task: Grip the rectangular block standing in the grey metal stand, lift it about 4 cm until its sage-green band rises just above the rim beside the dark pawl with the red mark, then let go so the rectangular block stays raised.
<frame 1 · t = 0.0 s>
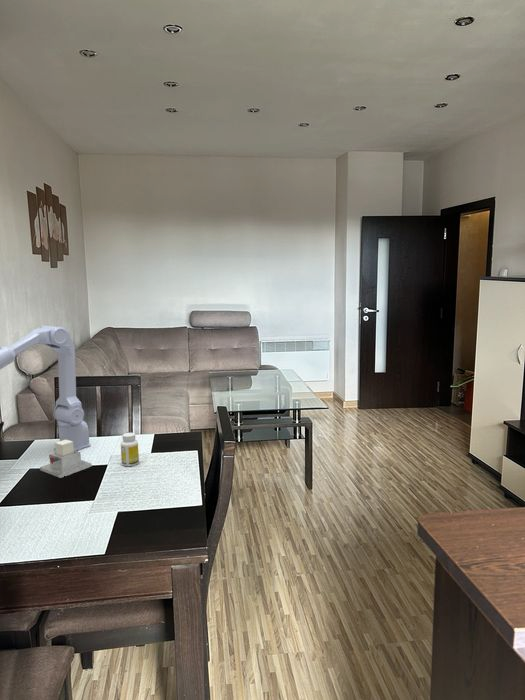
stand: (66, 468, 156), on the table
supplement bottle: (130, 464, 159), on the table
rectangular block: (65, 454, 155), point 5 cm above the table, slide at 0.0 cm
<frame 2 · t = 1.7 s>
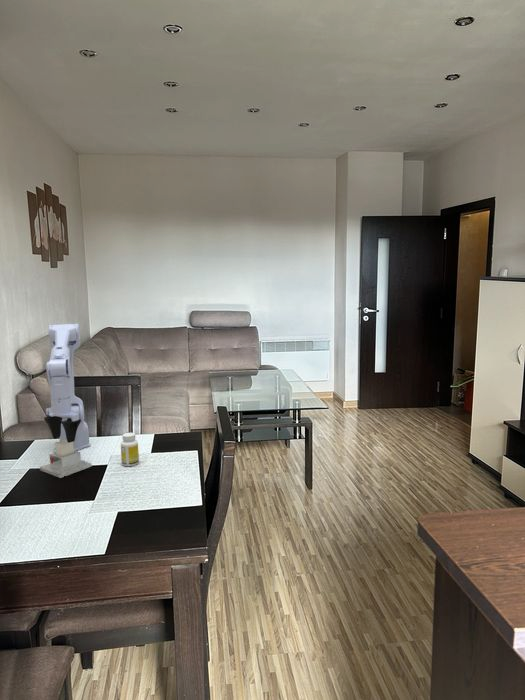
hand: (63, 439, 154), 9 cm above the table, tool pointing down, fingers open, 7 cm apart
nothing on the table moved.
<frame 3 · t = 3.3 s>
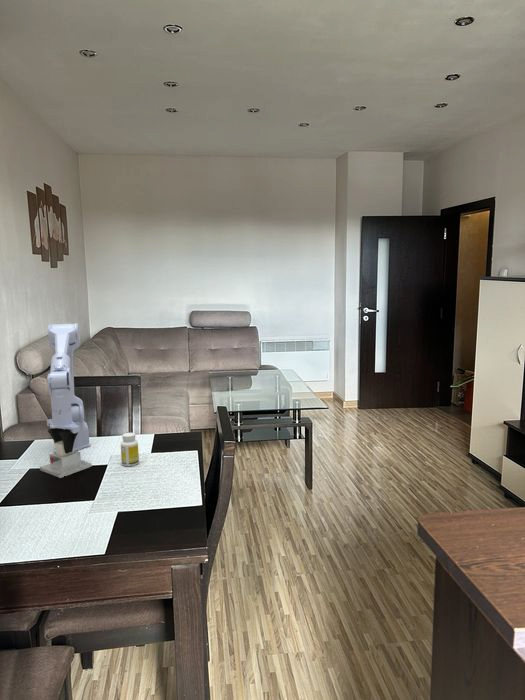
hand: (64, 451, 155), 6 cm above the table, tool pointing down, fingers closed on rectangular block, 4 cm apart
rectangular block: (65, 454, 155), point 5 cm above the table, slide at 0.0 cm, touching gripper
everything else where it was.
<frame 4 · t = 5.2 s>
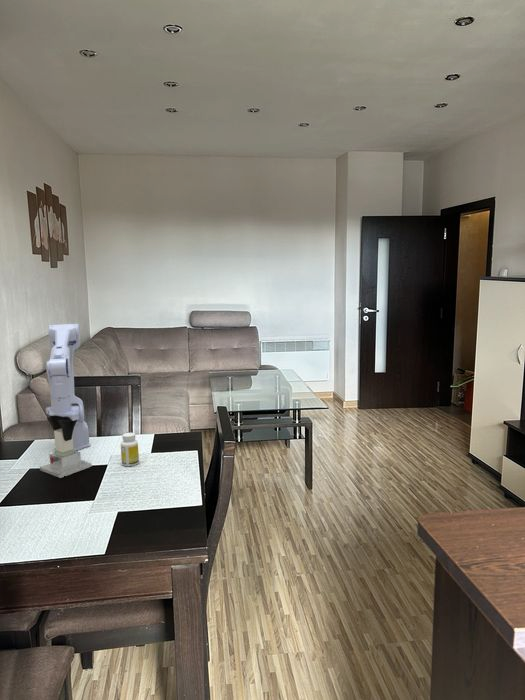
hand: (63, 438, 155), 10 cm above the table, tool pointing down, fingers closed on rectangular block, 4 cm apart
rectangular block: (64, 442, 155), point 9 cm above the table, slide at 4.0 cm, touching gripper
everything else where it was.
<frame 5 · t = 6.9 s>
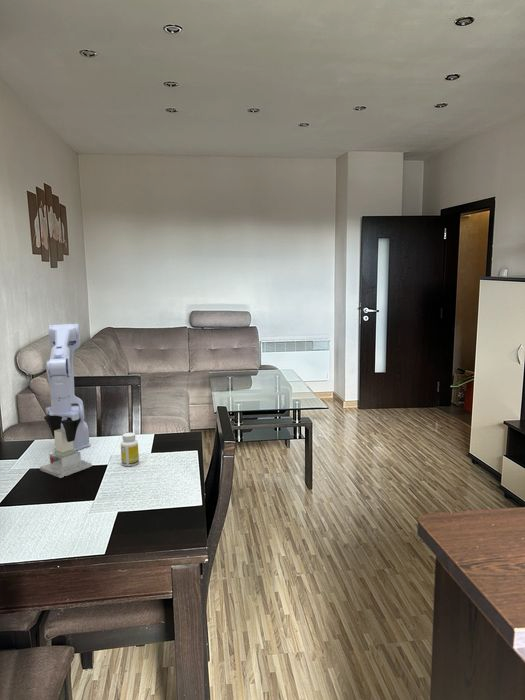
hand: (63, 438, 154), 10 cm above the table, tool pointing down, fingers open, 7 cm apart
rectangular block: (64, 442, 155), point 9 cm above the table, slide at 4.0 cm
everything else where it was.
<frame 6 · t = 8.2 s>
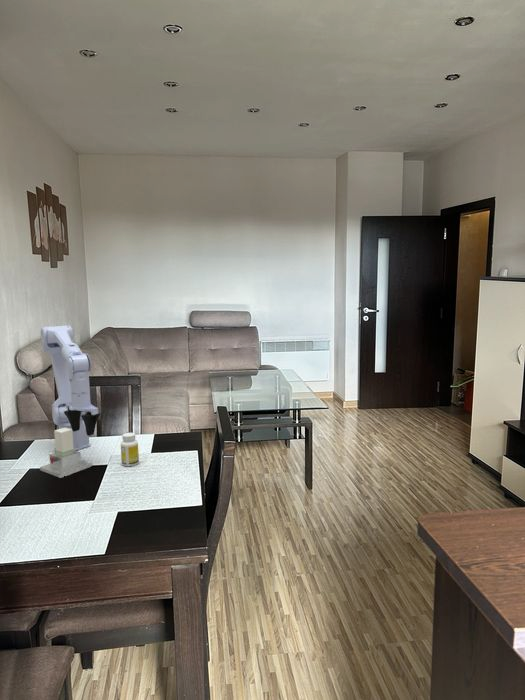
hand: (83, 432, 160), 10 cm above the table, tool pointing down, fingers open, 7 cm apart
nothing on the table moved.
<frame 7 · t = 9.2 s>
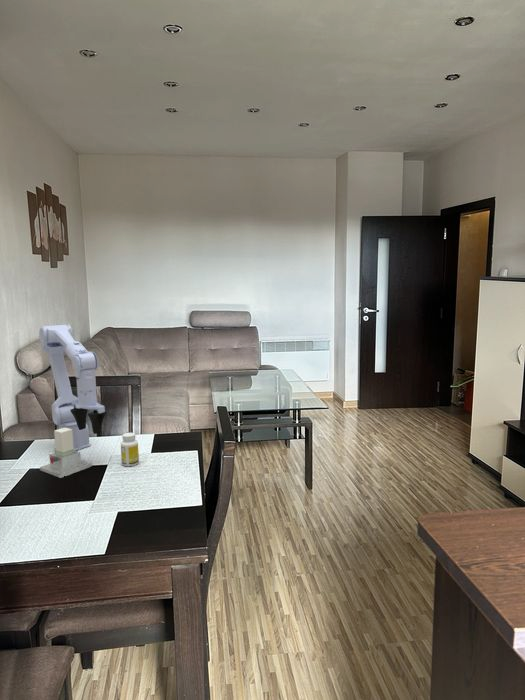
hand: (89, 431, 160), 10 cm above the table, tool pointing down, fingers open, 7 cm apart
nothing on the table moved.
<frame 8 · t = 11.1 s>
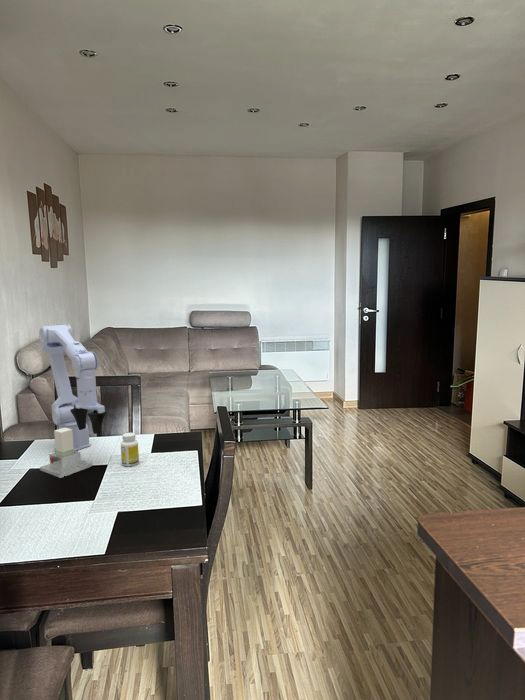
hand: (89, 431, 160), 10 cm above the table, tool pointing down, fingers open, 7 cm apart
nothing on the table moved.
at the end: rectangular block slide at 4.0 cm; the gripper is holding nothing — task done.
